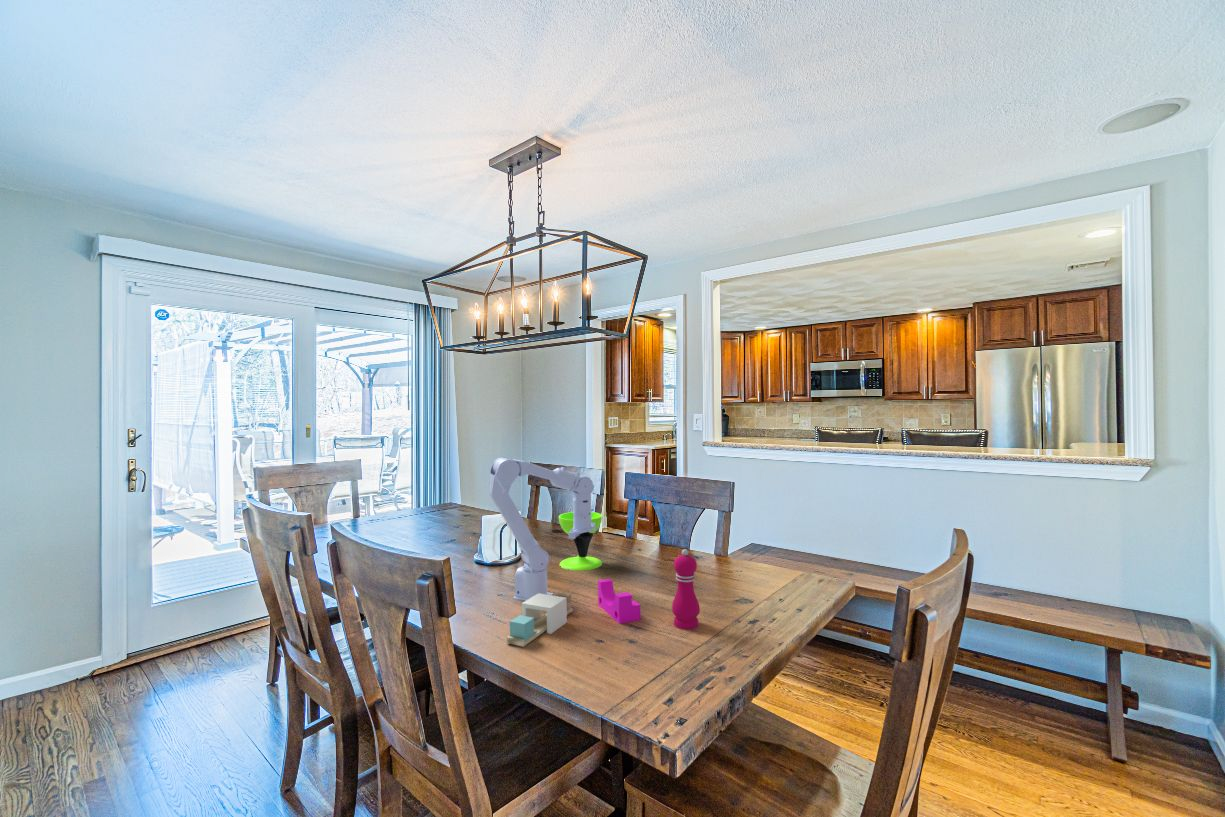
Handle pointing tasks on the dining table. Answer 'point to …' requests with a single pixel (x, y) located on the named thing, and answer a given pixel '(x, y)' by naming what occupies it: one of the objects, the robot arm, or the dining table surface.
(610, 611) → the toy block
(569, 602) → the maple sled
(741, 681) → the dining table surface
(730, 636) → the dining table surface
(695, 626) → the pepper mill
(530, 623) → the teal block
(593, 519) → the wineglass
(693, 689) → the dining table surface
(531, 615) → the cream tunnel
